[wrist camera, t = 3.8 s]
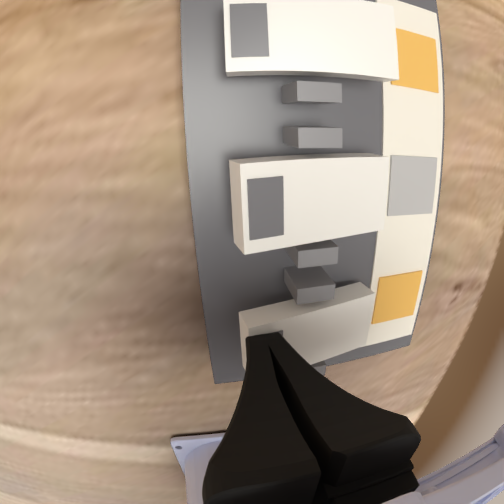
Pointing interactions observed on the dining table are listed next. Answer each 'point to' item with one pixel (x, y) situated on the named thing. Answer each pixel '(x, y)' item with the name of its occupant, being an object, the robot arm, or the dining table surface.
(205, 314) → the switch unit
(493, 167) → the dining table surface
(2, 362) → the dining table surface
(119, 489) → the dining table surface
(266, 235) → the block
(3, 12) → the dining table surface
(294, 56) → the block
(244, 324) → the rocker
